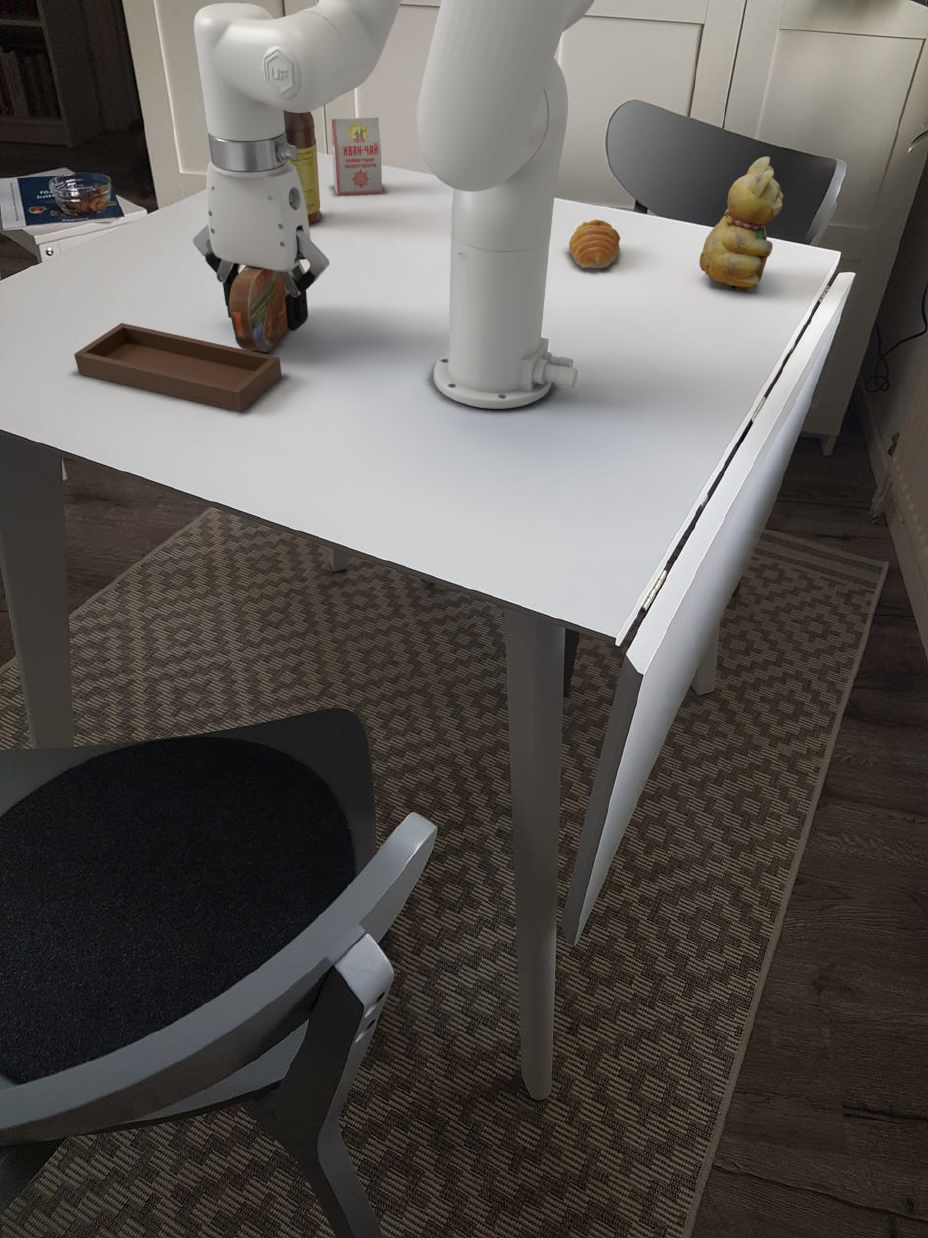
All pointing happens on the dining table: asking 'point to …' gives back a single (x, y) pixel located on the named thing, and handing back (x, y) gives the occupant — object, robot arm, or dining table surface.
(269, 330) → the tin
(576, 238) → the pastry
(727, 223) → the decorative figurine
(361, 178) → the tea box
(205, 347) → the tray
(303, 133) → the sauce bottle
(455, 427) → the dining table surface
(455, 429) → the dining table surface
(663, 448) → the dining table surface
